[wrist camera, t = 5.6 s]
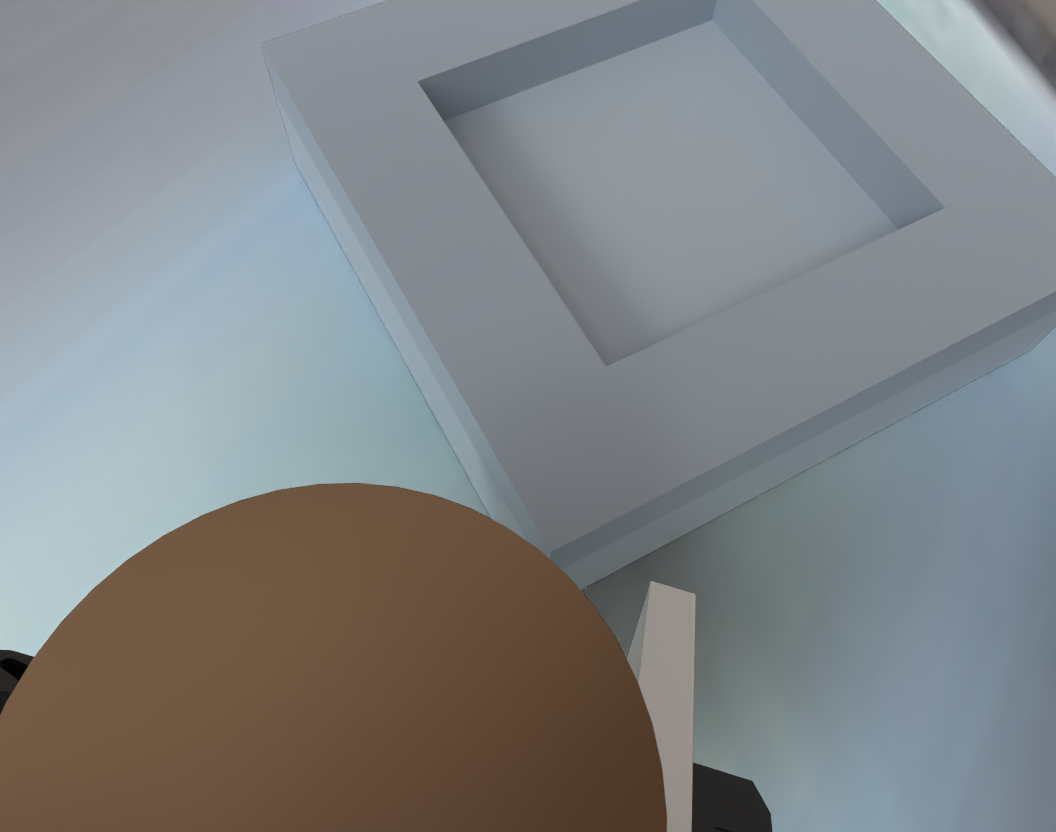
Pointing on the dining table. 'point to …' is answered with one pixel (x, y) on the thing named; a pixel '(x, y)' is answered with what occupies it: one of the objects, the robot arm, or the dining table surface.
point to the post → (332, 683)
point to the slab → (664, 241)
